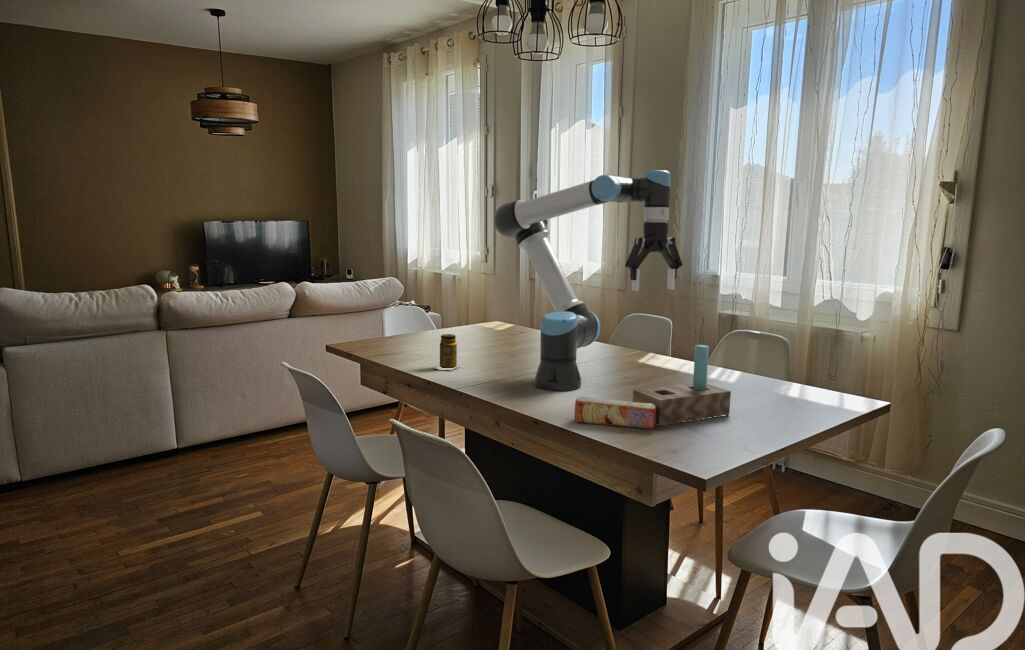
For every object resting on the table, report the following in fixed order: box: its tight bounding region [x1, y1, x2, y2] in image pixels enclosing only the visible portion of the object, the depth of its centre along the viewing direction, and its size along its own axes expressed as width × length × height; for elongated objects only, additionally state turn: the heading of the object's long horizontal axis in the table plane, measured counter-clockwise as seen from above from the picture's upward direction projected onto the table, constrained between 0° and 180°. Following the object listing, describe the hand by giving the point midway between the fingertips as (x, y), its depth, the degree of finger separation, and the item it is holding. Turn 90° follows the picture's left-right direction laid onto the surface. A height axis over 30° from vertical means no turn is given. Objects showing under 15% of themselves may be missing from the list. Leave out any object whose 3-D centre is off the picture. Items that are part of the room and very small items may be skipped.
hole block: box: [632, 382, 732, 426], centre depth 189 cm, size 24×12×7 cm, turn 116°
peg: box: [692, 344, 710, 391], centre depth 191 cm, size 4×4×18 cm
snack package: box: [574, 395, 656, 430], centre depth 180 cm, size 21×7×7 cm, turn 74°
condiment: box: [439, 333, 458, 368], centre depth 243 cm, size 7×8×12 cm
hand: (653, 290), depth 214 cm, fingers open, 13 cm apart
